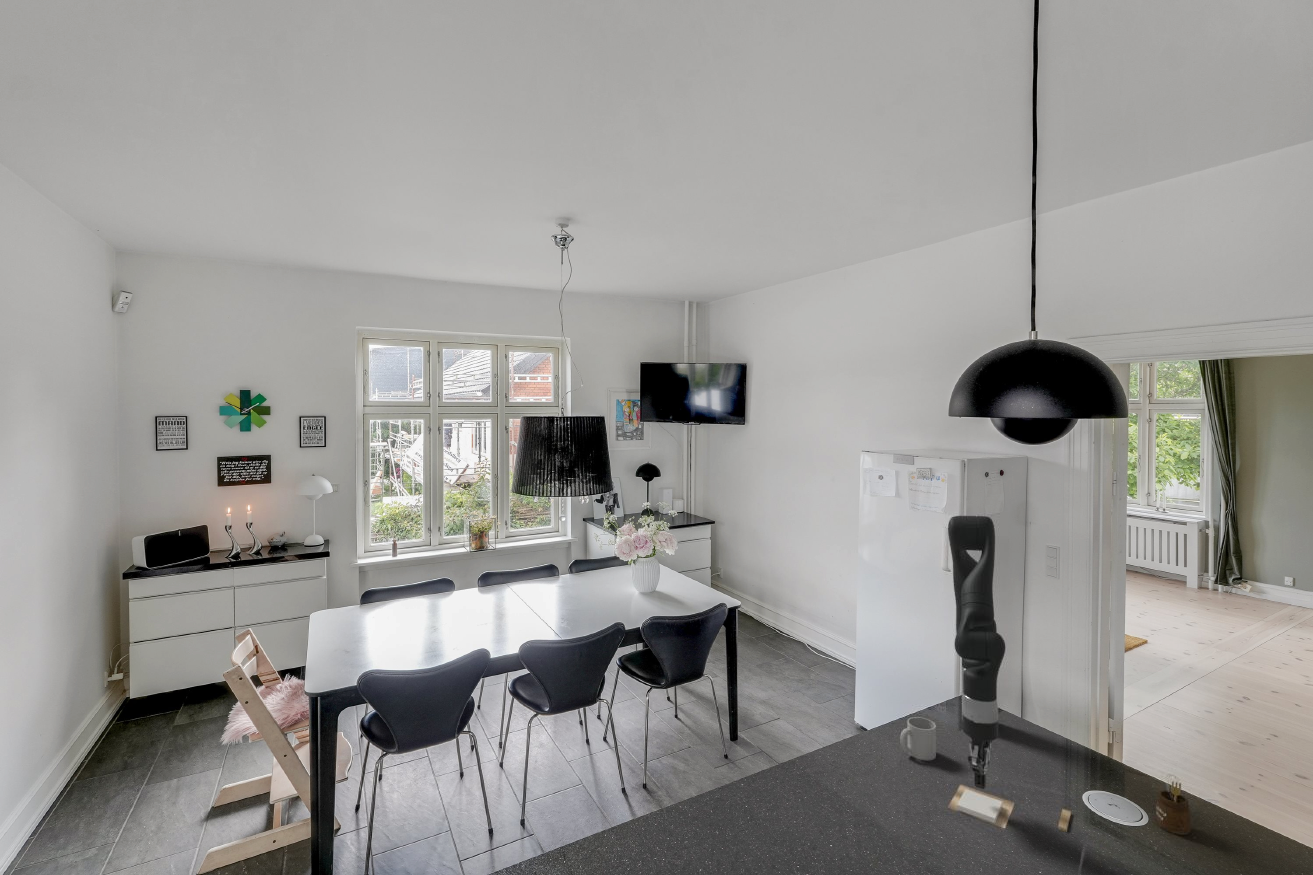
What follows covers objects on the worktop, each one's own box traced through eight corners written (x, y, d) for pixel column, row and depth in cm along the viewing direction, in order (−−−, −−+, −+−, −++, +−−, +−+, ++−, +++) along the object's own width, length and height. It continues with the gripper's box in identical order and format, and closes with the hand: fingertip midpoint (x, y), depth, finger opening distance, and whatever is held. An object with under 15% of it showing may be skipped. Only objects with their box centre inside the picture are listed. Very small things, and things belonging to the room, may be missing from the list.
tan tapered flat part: (1055, 811, 142) (1055, 806, 142) (1078, 818, 140) (1078, 813, 140) (1047, 840, 132) (1047, 835, 132) (1071, 849, 130) (1071, 843, 130)
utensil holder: (1187, 823, 137) (1187, 771, 137) (1194, 840, 132) (1194, 786, 132) (1153, 815, 140) (1153, 764, 140) (1159, 831, 135) (1159, 778, 135)
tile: (965, 788, 148) (956, 804, 142) (1002, 801, 143) (995, 818, 137) (965, 794, 148) (956, 810, 142) (1002, 806, 143) (995, 824, 137)
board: (960, 786, 153) (960, 784, 153) (1015, 804, 145) (1015, 802, 145) (947, 809, 143) (947, 807, 143) (1004, 830, 136) (1004, 828, 136)
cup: (941, 760, 164) (941, 728, 164) (908, 764, 163) (908, 731, 163) (925, 746, 172) (925, 715, 171) (893, 750, 170) (893, 719, 170)
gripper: (969, 699, 151) (969, 768, 151) (955, 719, 140) (955, 793, 141) (1003, 708, 146) (1003, 779, 146) (991, 729, 136) (991, 806, 136)
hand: (980, 786), depth 143 cm, fingers closed
